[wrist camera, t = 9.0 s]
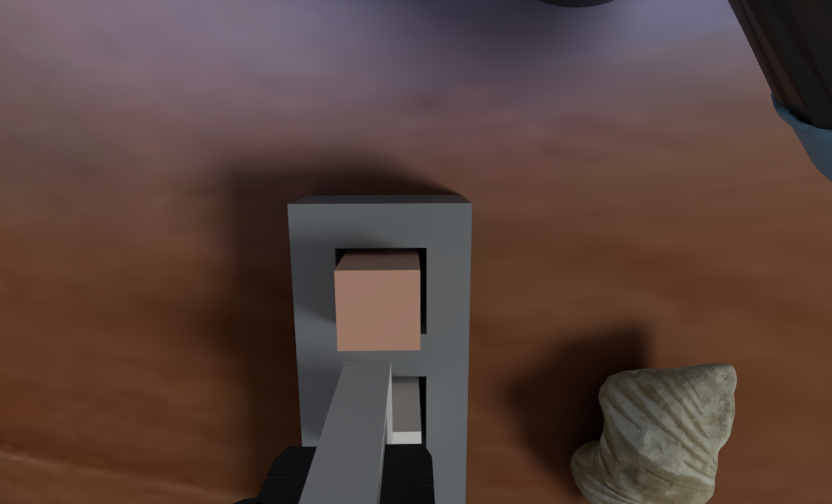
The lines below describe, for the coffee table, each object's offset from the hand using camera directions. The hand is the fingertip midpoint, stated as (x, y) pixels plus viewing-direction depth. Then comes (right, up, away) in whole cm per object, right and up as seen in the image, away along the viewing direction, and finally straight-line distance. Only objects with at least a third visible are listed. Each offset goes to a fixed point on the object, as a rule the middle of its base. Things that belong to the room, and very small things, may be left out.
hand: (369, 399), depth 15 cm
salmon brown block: (-1, +3, +17) cm, 17 cm away
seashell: (+18, -9, +23) cm, 31 cm away
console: (-1, -5, +21) cm, 22 cm away
